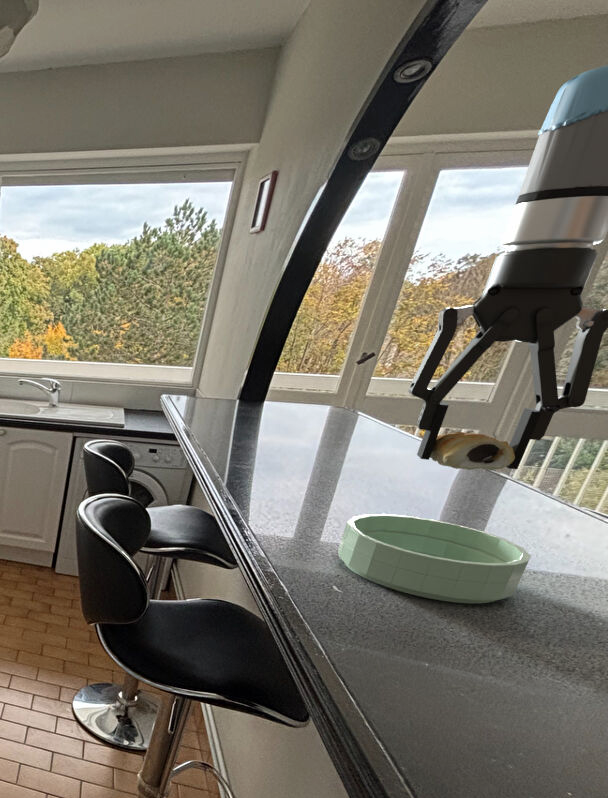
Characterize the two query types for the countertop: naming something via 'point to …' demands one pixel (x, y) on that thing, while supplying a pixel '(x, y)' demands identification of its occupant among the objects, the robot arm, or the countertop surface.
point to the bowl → (432, 558)
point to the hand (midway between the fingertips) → (465, 461)
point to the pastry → (471, 451)
